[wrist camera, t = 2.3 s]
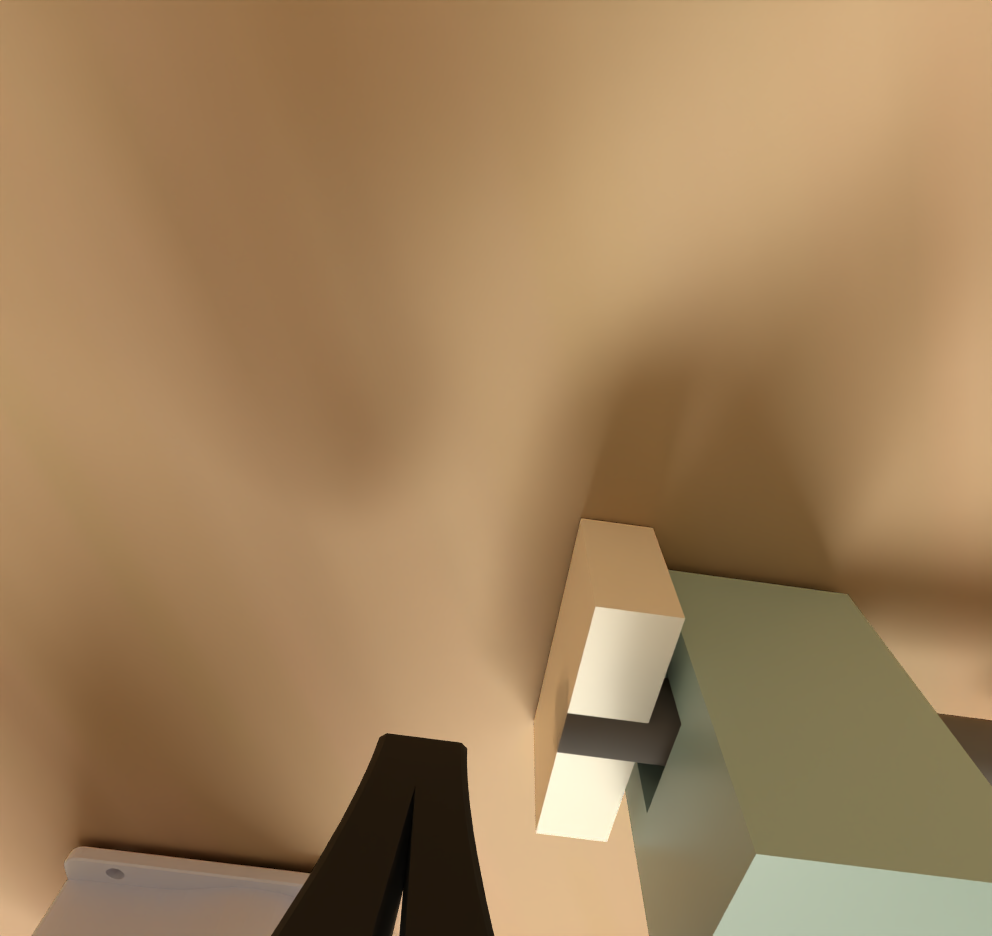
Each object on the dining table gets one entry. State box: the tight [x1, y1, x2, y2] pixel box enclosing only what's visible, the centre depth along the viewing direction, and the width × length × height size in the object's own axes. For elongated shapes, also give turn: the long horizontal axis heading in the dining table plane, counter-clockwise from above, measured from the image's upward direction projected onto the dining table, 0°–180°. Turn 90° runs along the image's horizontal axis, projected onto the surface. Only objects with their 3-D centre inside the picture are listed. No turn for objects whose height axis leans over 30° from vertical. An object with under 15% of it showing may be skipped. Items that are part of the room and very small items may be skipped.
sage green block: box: [625, 570, 992, 936], centre depth 11 cm, size 4×4×6 cm
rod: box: [553, 678, 992, 786], centre depth 12 cm, size 13×3×3 cm, turn 82°
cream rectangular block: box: [533, 518, 685, 842], centre depth 13 cm, size 2×6×3 cm, turn 173°
